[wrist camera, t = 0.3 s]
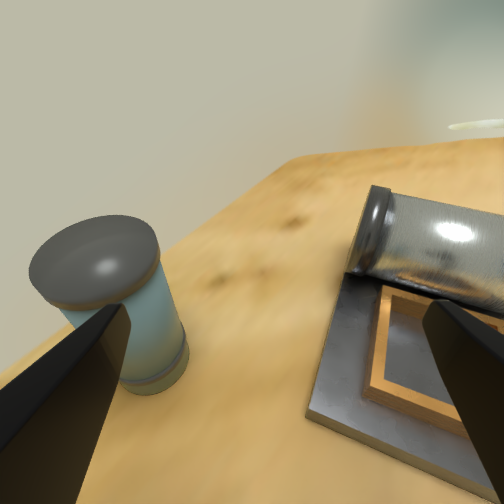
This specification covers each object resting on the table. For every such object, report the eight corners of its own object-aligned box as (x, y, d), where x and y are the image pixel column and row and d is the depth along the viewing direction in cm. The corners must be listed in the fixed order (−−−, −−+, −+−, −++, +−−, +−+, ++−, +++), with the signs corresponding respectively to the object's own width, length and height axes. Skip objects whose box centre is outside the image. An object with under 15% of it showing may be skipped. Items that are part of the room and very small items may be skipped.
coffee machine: (569, 536, 17) (809, 533, 10) (305, 417, 21) (332, 353, 14) (504, 287, 30) (583, 207, 23) (350, 246, 35) (376, 168, 27)
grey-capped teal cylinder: (196, 384, 23) (159, 280, 14) (113, 409, 22) (12, 313, 13) (186, 318, 27) (153, 207, 18) (116, 336, 26) (43, 225, 17)
